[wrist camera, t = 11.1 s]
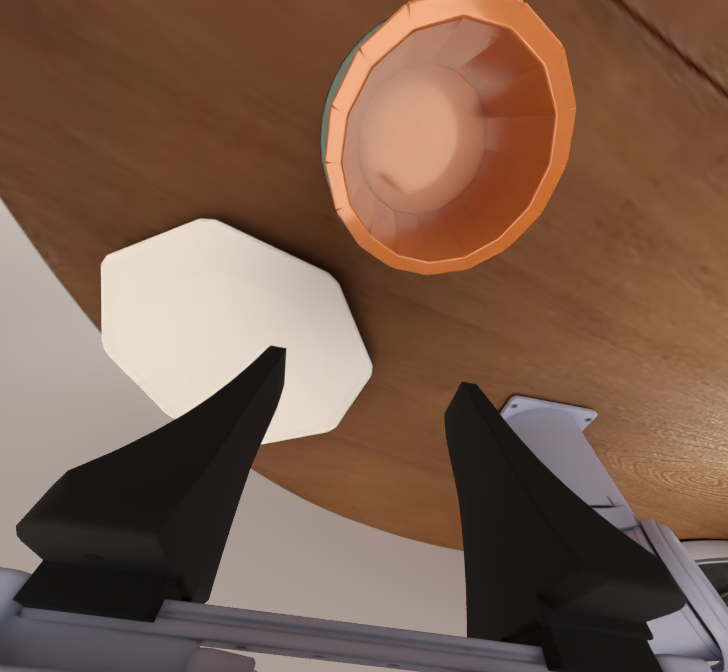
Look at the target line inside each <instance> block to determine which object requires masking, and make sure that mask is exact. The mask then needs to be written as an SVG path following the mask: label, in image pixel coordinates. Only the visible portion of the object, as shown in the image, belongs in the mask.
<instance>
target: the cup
mask: <svg viewBox="0 0 728 672" xmlns="http://www.w3.org/2000/svg"><path fill="white" fill-rule="evenodd" d="M562 46H563V45H562V43H561V42H560V41H559V40H558V38H557V37H556V36H555V35H554V34H553V32H552V31H551V30H550V29H549V28H548V27H547V25H546V24H545V23H544V22H543V21H542V19H541V18H540V17H539V16H538V15H537V14H536V12H535V11H534V10H533V9H532V8H531V6H530V5H529V4H528V3H527V2H524V0H412V1H409V2H408V3H407V4H404V5H403V6H402V7H401V8H400V9H398V10H397V11H396V12H395V13H394V14H393V15H392V16H391V17H390V18H389V19H388V20H387V21H386V22H385V23H383V24H382V25H381V26H380V27H379V28H378V29H377V30H376V31H375V32H374V33H373V34H372V35H371V36H370V37H368V38H367V39H366V40H365V41H364V42H363V43H362V44H361V45H360V46H359V49H357V50H356V52H355V54H354V56H353V58H352V61H351V63H350V65H349V67H348V69H347V71H346V73H345V75H344V77H343V79H342V82H341V84H340V86H339V88H338V90H337V92H336V94H335V96H334V98H333V100H332V103H331V107H330V111H329V120H328V129H327V139H326V148H325V158H324V161H325V169H326V173H327V177H328V182H329V186H330V190H331V194H332V198H333V203H334V207H335V209H336V212H337V214H338V215H339V217H340V218H341V220H342V221H343V223H344V224H345V226H346V227H347V229H348V230H349V232H350V233H351V235H352V236H353V238H354V239H355V241H356V242H357V243H358V245H360V247H361V248H363V249H364V250H366V251H367V252H369V253H370V254H372V255H373V256H375V257H376V258H378V259H379V260H381V261H382V262H384V263H385V264H386V265H388V266H389V267H392V268H395V269H399V270H404V271H409V272H413V273H418V274H423V275H436V274H443V273H449V272H455V271H462V270H467V268H468V269H470V268H472V267H474V266H476V265H477V264H479V263H481V262H483V261H485V260H487V259H489V258H491V257H493V256H495V255H496V254H498V253H500V252H502V251H504V250H505V249H506V248H508V247H509V246H510V245H511V244H512V243H513V242H514V241H515V240H516V239H517V238H518V237H519V236H520V235H521V234H522V233H523V232H524V231H525V230H526V229H527V228H528V227H529V226H530V225H531V224H532V223H533V222H534V221H535V220H536V219H537V218H538V217H539V216H540V213H542V212H543V210H544V208H545V206H546V204H547V203H548V201H549V199H550V197H551V195H552V193H553V191H554V189H555V187H556V185H557V183H558V181H559V180H560V178H561V176H562V174H563V172H564V170H565V168H566V164H567V163H568V157H569V151H570V145H571V139H572V133H573V127H574V121H575V114H576V99H575V95H574V90H573V85H572V81H571V76H570V72H569V67H568V63H567V58H566V53H565V49H564V48H563V47H562Z"/></svg>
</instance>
